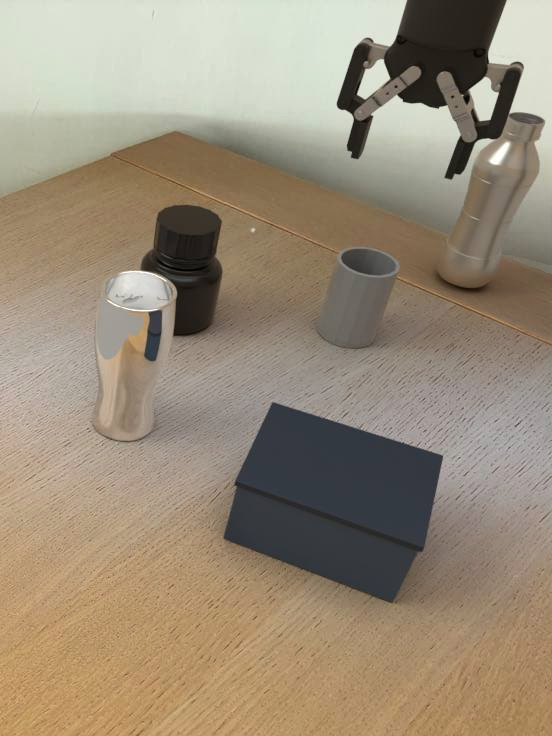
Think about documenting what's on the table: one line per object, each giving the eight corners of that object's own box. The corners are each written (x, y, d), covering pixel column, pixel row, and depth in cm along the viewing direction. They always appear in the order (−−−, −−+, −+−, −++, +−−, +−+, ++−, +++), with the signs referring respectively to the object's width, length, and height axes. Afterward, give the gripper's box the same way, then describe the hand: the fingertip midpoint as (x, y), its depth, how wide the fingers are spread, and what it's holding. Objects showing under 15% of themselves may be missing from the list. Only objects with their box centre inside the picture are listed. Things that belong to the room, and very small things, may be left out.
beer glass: (74, 408, 82) (84, 278, 72) (135, 391, 84) (153, 262, 75) (108, 452, 77) (123, 319, 68) (172, 433, 79) (195, 301, 70)
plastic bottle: (474, 301, 97) (546, 136, 84) (420, 278, 101) (481, 116, 88) (499, 282, 101) (572, 120, 88) (446, 260, 104) (508, 102, 92)
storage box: (415, 513, 72) (443, 455, 67) (394, 606, 64) (424, 547, 60) (256, 459, 77) (272, 401, 72) (220, 539, 69) (235, 480, 65)
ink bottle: (189, 286, 99) (204, 193, 92) (231, 325, 93) (252, 229, 86) (118, 303, 96) (128, 209, 89) (157, 344, 90) (171, 247, 83)
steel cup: (379, 325, 93) (404, 255, 88) (369, 354, 89) (394, 283, 83) (323, 310, 96) (344, 241, 90) (311, 338, 91) (331, 267, 86)
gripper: (562, -18, 68) (487, 169, 79) (384, -41, 74) (336, 136, 84) (553, 3, 63) (475, 199, 74) (363, -23, 69) (315, 163, 79)
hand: (401, 165), depth 79 cm, fingers open, 8 cm apart
